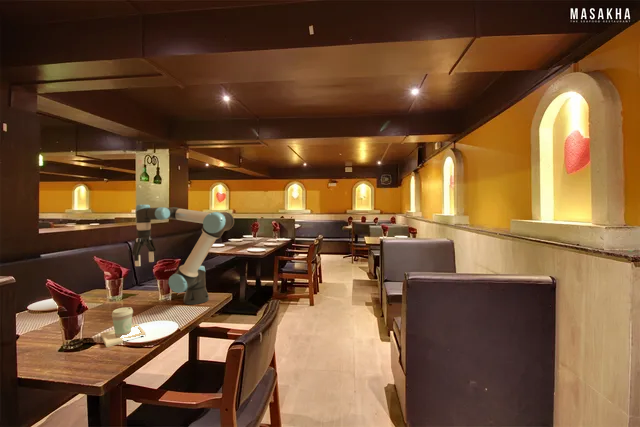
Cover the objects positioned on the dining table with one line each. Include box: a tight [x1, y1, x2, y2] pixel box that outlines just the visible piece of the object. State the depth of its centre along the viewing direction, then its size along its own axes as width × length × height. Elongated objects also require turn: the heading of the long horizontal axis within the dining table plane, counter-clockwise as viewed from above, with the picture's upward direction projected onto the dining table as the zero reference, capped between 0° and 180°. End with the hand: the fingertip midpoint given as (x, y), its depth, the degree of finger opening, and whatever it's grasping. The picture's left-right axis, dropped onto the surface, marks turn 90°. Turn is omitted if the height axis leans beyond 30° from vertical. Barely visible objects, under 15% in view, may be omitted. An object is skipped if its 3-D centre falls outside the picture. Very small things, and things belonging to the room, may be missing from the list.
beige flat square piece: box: [100, 323, 146, 348], centre depth 135 cm, size 15×15×2 cm
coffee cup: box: [110, 306, 134, 338], centre depth 135 cm, size 8×8×12 cm
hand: (144, 264), depth 177 cm, fingers open, 13 cm apart
